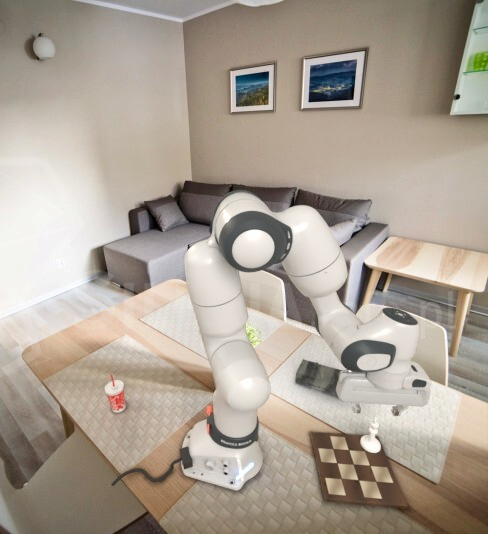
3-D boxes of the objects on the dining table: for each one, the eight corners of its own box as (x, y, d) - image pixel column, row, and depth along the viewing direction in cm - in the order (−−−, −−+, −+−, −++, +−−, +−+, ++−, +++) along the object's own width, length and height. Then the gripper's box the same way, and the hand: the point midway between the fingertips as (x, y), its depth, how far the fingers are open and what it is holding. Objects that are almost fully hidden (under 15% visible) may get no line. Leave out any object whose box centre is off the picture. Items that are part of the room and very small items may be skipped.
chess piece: (380, 439, 89) (386, 413, 85) (381, 455, 85) (387, 429, 81) (360, 434, 91) (365, 408, 87) (360, 449, 87) (365, 423, 83)
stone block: (302, 366, 119) (303, 355, 117) (345, 380, 111) (347, 368, 109) (295, 382, 112) (296, 371, 110) (340, 398, 105) (342, 386, 102)
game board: (324, 501, 78) (325, 498, 77) (310, 434, 94) (310, 431, 93) (406, 509, 75) (407, 505, 74) (377, 438, 91) (378, 435, 91)
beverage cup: (106, 412, 107) (97, 379, 101) (116, 398, 112) (108, 366, 106) (122, 416, 105) (114, 383, 99) (131, 401, 110) (124, 369, 104)
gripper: (343, 377, 76) (336, 420, 82) (439, 383, 73) (424, 426, 79) (336, 359, 82) (329, 400, 88) (425, 363, 79) (412, 405, 85)
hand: (375, 412), depth 83 cm, fingers open, 8 cm apart
